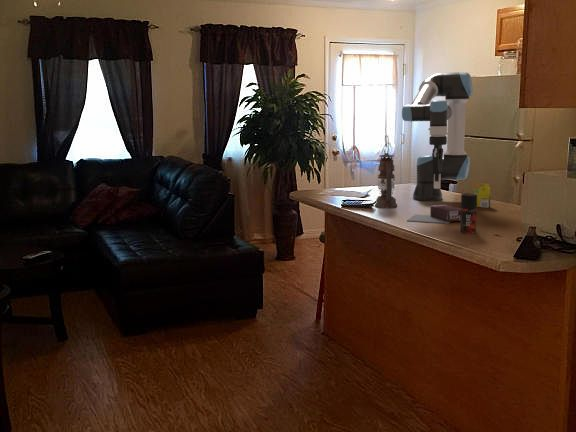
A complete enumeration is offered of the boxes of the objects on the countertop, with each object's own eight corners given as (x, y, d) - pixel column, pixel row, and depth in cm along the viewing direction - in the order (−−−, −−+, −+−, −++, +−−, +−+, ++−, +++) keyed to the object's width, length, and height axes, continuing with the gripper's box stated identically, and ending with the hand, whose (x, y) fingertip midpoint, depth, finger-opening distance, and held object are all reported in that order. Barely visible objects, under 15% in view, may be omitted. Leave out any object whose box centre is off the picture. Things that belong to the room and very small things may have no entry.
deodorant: (473, 230, 250) (474, 193, 247) (477, 233, 244) (479, 195, 242) (458, 230, 250) (459, 193, 247) (462, 233, 244) (464, 195, 241)
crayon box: (490, 207, 302) (491, 183, 300) (488, 207, 300) (489, 183, 297) (475, 205, 306) (475, 182, 304) (473, 206, 304) (474, 183, 301)
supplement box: (429, 216, 280) (448, 222, 265) (429, 205, 279) (448, 211, 264) (446, 214, 282) (466, 220, 267) (447, 204, 282) (466, 209, 267)
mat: (415, 215, 285) (415, 214, 284) (455, 217, 277) (455, 216, 277) (406, 221, 271) (407, 220, 271) (449, 223, 264) (449, 222, 264)
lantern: (393, 203, 318) (394, 134, 311) (400, 208, 302) (401, 136, 295) (372, 204, 317) (372, 134, 311) (378, 209, 301) (378, 136, 295)
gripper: (432, 134, 284) (431, 185, 289) (426, 136, 273) (425, 190, 277) (449, 134, 281) (448, 186, 286) (443, 136, 270) (442, 190, 274)
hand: (437, 188), depth 282 cm, fingers closed
